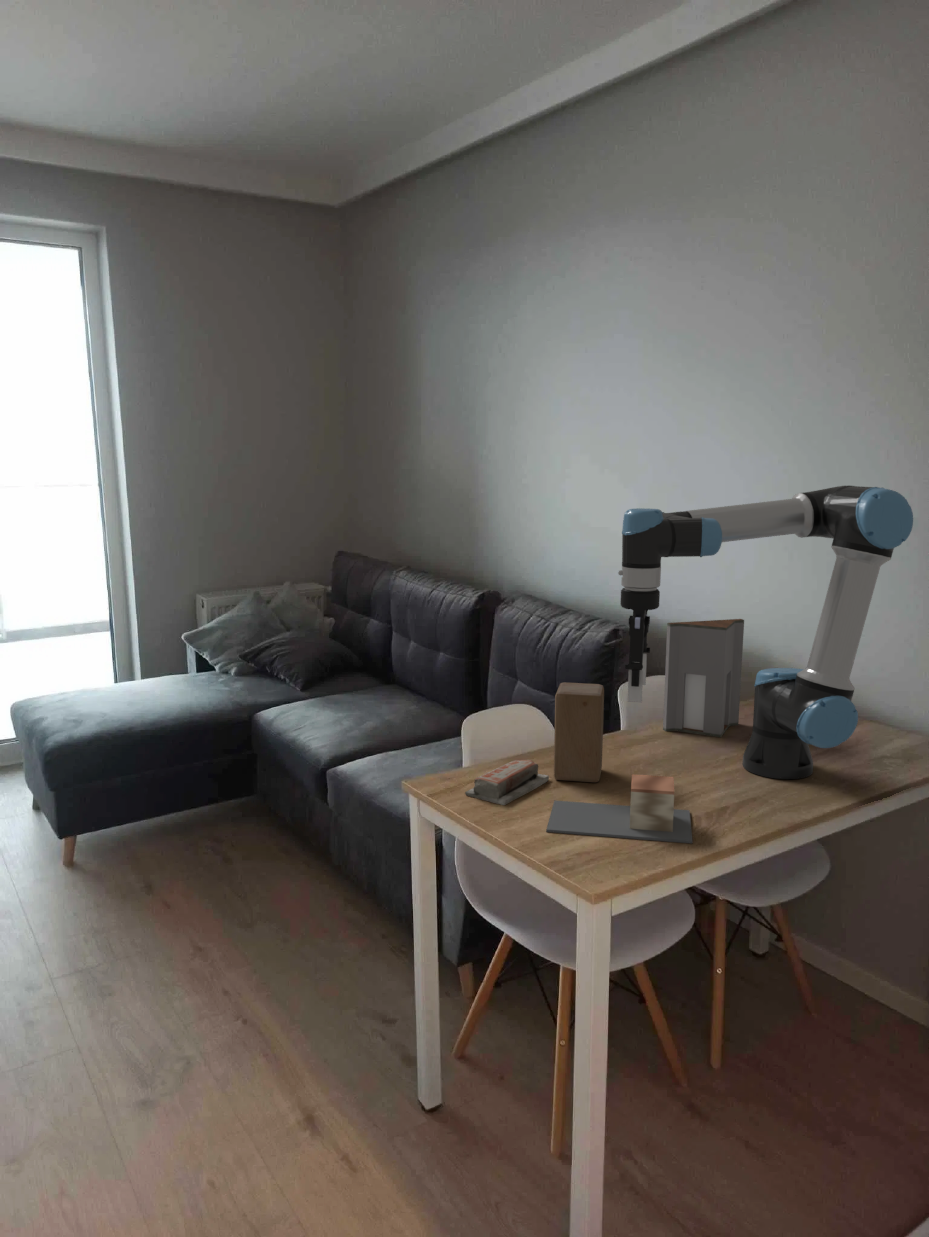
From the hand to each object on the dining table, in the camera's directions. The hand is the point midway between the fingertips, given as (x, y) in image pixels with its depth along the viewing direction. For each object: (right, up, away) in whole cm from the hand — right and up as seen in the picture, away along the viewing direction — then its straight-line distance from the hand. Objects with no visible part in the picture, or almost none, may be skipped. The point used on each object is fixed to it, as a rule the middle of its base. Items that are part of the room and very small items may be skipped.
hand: (636, 692), depth 189 cm
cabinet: (+28, -14, +52) cm, 61 cm away
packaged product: (-25, -22, +13) cm, 36 cm away
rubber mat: (-4, -25, -5) cm, 26 cm away
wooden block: (-9, -20, +21) cm, 30 cm away
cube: (+2, -24, -6) cm, 25 cm away
